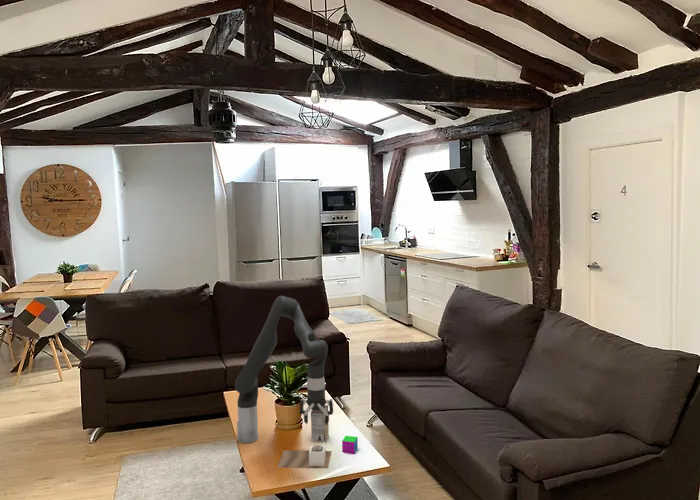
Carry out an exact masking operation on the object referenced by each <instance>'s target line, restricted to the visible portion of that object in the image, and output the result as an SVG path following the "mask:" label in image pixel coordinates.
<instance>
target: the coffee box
mask: <svg viewBox="0 0 700 500" xmlns="http://www.w3.org/2000/svg"><path fill="white" fill-rule="evenodd" d="M325 407H326V409H327V410H328V411H329V405H328V404H327V405H326V404H325ZM310 423H311V424H310V429H311V434H310V435H311V442H319V443H324V444H326V443H327V441H328V440H329V439H328V438H329V437H330V434H329V433H330V431H329V429H330V428H329V427H330V426H329V422H328V423H327V424H325V413H324V412H322V410H312V409H311V410H310Z"/></svg>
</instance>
